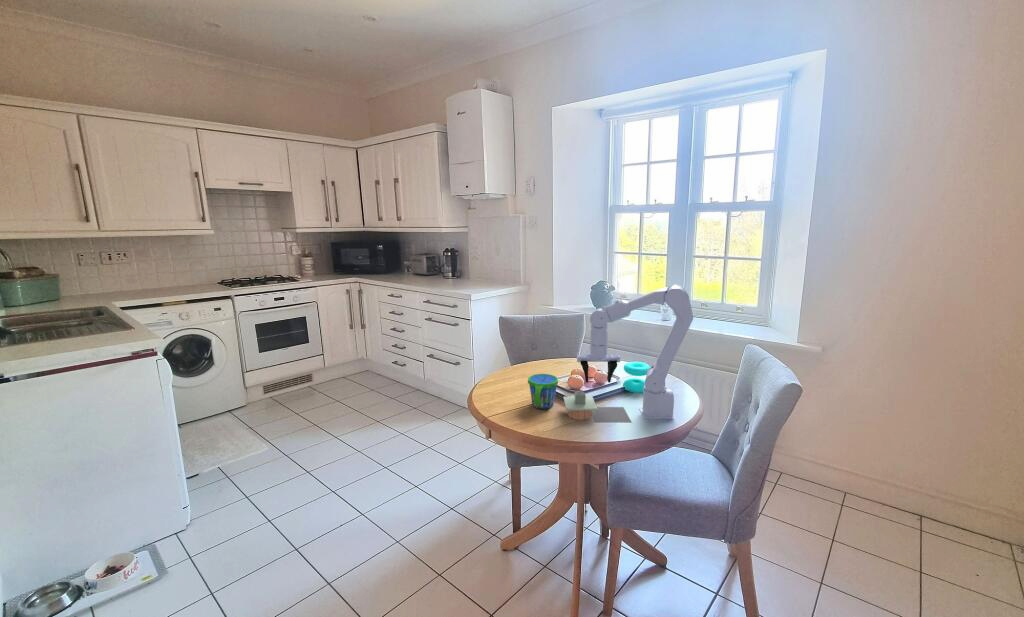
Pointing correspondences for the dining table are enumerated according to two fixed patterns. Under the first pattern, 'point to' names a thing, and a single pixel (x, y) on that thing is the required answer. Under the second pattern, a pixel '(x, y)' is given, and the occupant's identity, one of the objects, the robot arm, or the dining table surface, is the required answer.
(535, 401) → the snack cup
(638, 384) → the donuts
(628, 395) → the dining table surface
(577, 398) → the lid
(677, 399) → the dining table surface
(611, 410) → the mat
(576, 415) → the bowl
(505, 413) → the dining table surface
